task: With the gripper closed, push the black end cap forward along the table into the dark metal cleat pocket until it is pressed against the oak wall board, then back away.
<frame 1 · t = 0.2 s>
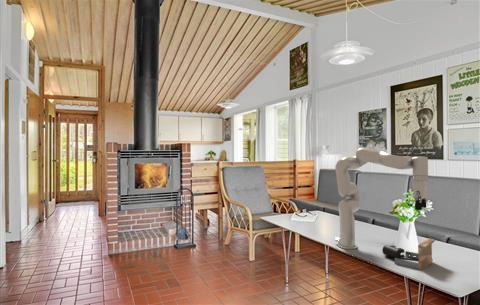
hand: (420, 208, 170), 31 cm above the table, fingers open, 9 cm apart
cleat pocket: (411, 262, 172), on the table
end cap: (393, 258, 179), on the table
wall board: (425, 265, 167), on the table
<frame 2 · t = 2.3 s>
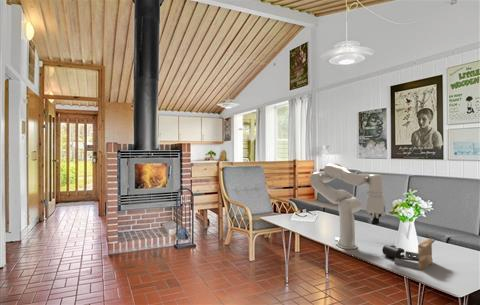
hand: (376, 224, 187), 19 cm above the table, fingers closed
nothing on the table moved.
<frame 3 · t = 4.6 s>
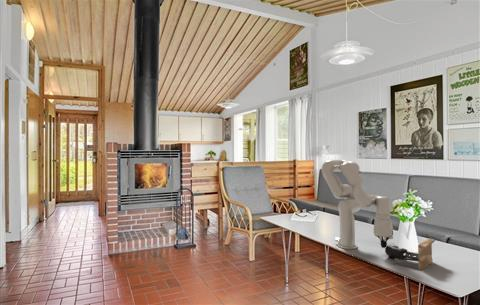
hand: (383, 247, 183), 5 cm above the table, fingers closed
end cap: (396, 259, 178), on the table, touching gripper
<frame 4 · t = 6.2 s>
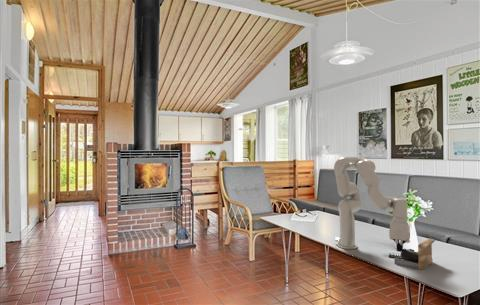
hand: (399, 250, 177), 5 cm above the table, fingers closed
end cap: (412, 262, 172), on the table, touching gripper, wall board
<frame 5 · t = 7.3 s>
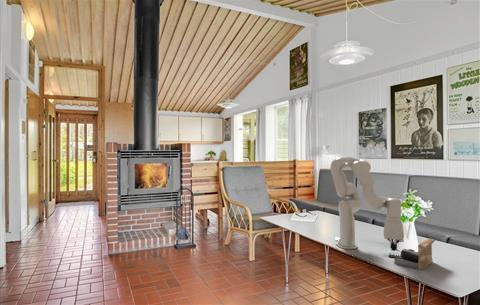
hand: (393, 250, 179), 5 cm above the table, fingers closed
end cap: (412, 263, 172), on the table
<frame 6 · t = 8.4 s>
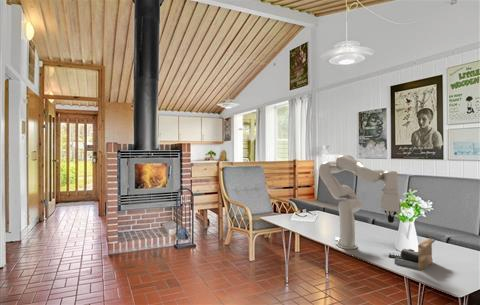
hand: (390, 222, 180), 21 cm above the table, fingers closed
nothing on the table moved.
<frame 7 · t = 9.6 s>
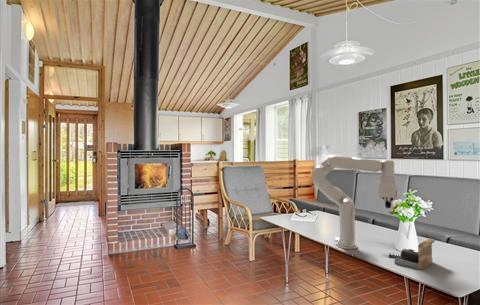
hand: (388, 207, 195), 27 cm above the table, fingers closed
nothing on the table moved.
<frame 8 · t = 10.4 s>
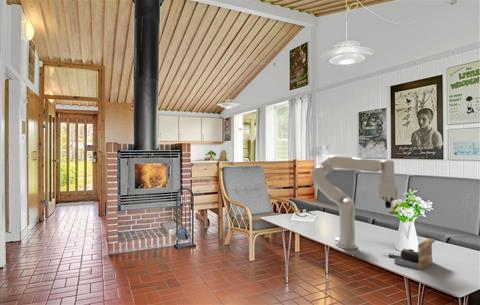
hand: (388, 207, 195), 27 cm above the table, fingers closed
nothing on the table moved.
at the end: end cap inside the target area (1.0 cm from its centre), on the table; end cap moved 10.5 cm from its start; the gripper is holding nothing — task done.
